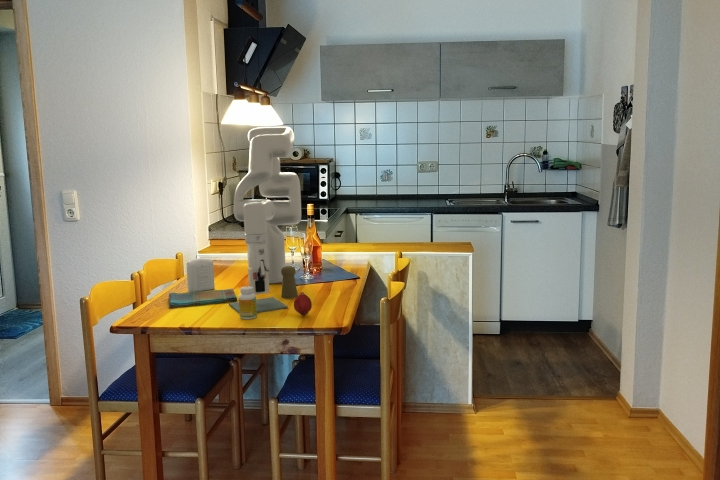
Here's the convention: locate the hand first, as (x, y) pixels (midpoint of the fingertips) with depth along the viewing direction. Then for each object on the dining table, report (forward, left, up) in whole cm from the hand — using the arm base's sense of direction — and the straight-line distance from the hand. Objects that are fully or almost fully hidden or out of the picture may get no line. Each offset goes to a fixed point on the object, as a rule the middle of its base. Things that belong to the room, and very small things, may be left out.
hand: (259, 290), depth 234 cm
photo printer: (+13, -31, -5) cm, 34 cm away
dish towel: (+16, -17, -5) cm, 24 cm away
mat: (+2, +4, -5) cm, 6 cm away
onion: (-7, +23, -5) cm, 24 cm away
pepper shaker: (-12, -3, -5) cm, 13 cm away
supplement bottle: (+9, +15, -5) cm, 18 cm away
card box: (0, 0, -1) cm, 1 cm away
